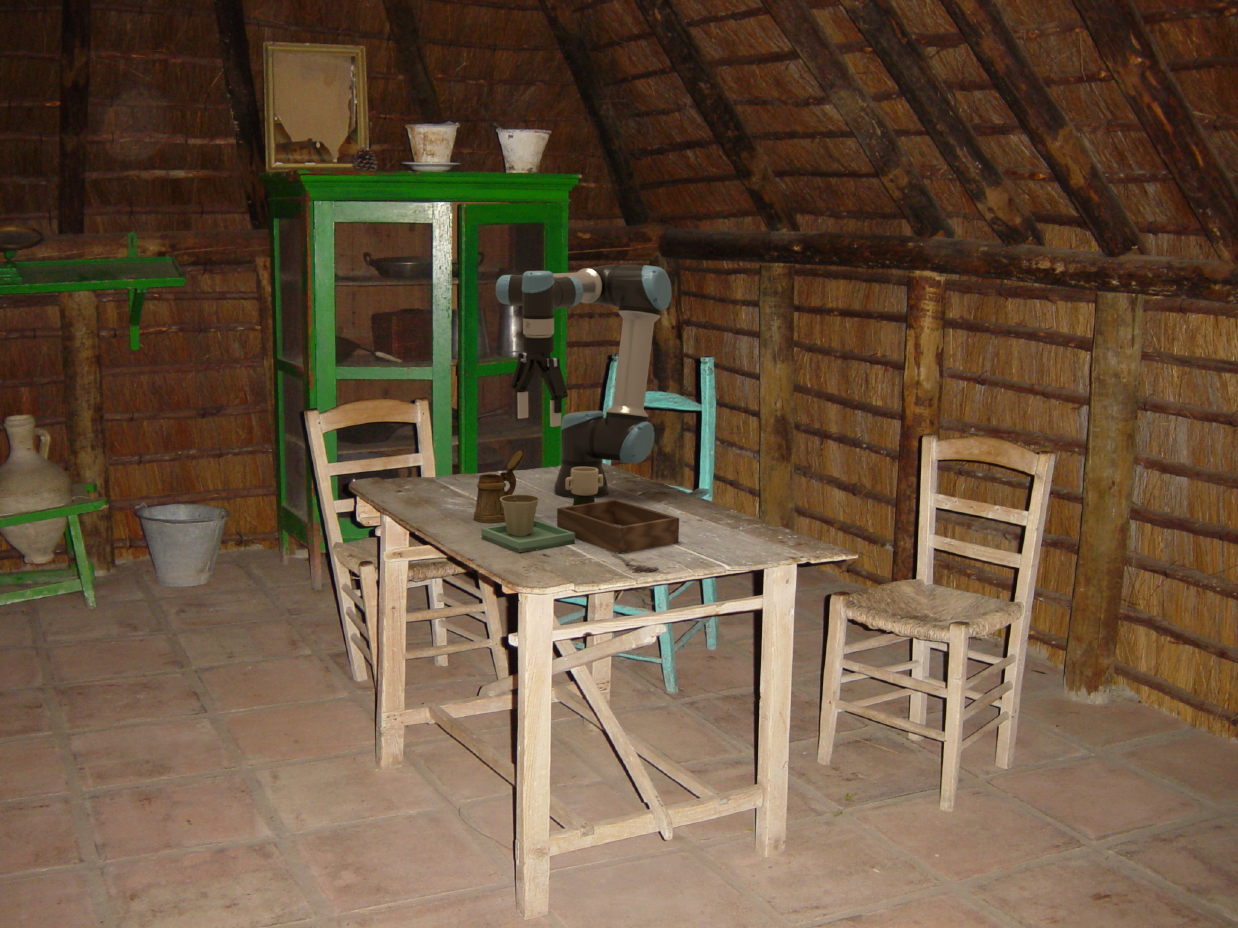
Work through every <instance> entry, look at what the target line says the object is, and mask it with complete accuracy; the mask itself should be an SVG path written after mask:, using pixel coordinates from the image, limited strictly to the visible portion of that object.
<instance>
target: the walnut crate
mask: <svg viewBox="0 0 1238 928" xmlns="http://www.w3.org/2000/svg"><path fill="white" fill-rule="evenodd" d="M556 517H557V518H556V527H559V528H562V529H565V530H568V531H571V532H574V533H575V540H578V541H579V540H580V541H582V542H585V543H588V544H590V545H593V546H596V547H598V546H599V547H598V548H601V549H604V548H605V549H604V550H607V549H609V550H608V551H611V552H613V551H614V552H613V553H616V552H618V553H620V554H623V553H622V552H625V553H629V552H628V551H630V552H634V551H640V550H639V549H641V550H645V548H646V549H650V548H656V547H655V546H657V547H661V545H662V546H666V545H672V544H671V543H673V544H676V543H679V540H680V539H679V537H680V517H678V516H674V515H669V514H667V513H663V512H661V511H656V510H653V509H651V508H647V507H643V506H641V505H640V506H639V505H636V504H633V503H630V502H626V501H623V500H619V499H609V500H602V501H596V502H595V503H588V504H582V505H575V506H573V505H571V506H570V505H569V506H564V507H557V509H556ZM618 553H617V554H618Z"/></svg>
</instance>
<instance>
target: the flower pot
mask: <svg viewBox="0 0 1238 928" xmlns="http://www.w3.org/2000/svg"><path fill="white" fill-rule="evenodd" d="M500 501H501V502H502V506H503V508H504V515H505V521H504V523H505V525H506V529H507V534H509V535H510V534H512V535H513V536H526V535H528V534H532V533H533V526H534V520H535V518H536V509H537V507H538V503H539V501H540V497H538V496H536V495H533V494H512V495H508V496H503V497H501V498H500Z"/></svg>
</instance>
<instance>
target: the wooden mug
mask: <svg viewBox="0 0 1238 928" xmlns="http://www.w3.org/2000/svg"><path fill="white" fill-rule="evenodd" d="M525 455H526V449H525V447H524V448H521V449H519V450H517V451H516V452H515V453H514V454H513V455H512V456H511V458H510V460H509V461H508V463H507V467H506V470H505V471H502V472H500V474H495V473H485V474H481V475H479V479H478V482H477V484H476V485H477V486H476V487H477V488H478V489H477V497H476V505H475V511H474V512H473V520H475V521H477V522H480V523H491V524H492V523H501V522H505V515H504V508H503V506H502V502H501V501H500V498H501V497H503V496H508V495H514V492H515V490H516V486H517V477H516V475H515V473H514V471H515V470H517V468H518V467H519V466H520V464H521V463H522V461H523V460H524V457H525ZM506 482H507V483H509V487H508V489H507V490H506V489H505V488H506V486H507V483H506Z"/></svg>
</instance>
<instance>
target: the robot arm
mask: <svg viewBox="0 0 1238 928" xmlns="http://www.w3.org/2000/svg"><path fill="white" fill-rule="evenodd" d="M495 296H496V298H497V299H496V300H498V302H500V303H501V304H503V305H509V306H522V334H523V335H524V336H523V337H522V351H523V352H519V353H518V355H517V364H516V366H515V370H514V374H513V378H512V381H511V384H510V388H512V389H514V390H515V392H516V403H517V419H518V420H519V419H528V418H529V391H528V387H529V385H530V383H531V381H532V380H533V378H534V376H535V374H536V375H538V376H540V378H542V380H543V381H544V383H545V385H546V388H547V390H548V392H549V394H550V396H551V398H550V399H549V421H550V422H549V424H550V425H549V427H552V428H553V427H559V426H560V427H561V428H560V431H561V435H560V437H561V438H560V439H561V444H560V445H561V451H560V452H561V453H560V457H561V458H560V461H561V462H560V468H559V471H558V474H557V477H556V481H555V483H554V493H555V494H556V495H557V496H560V497H561V496H562V497H567V498H573V499H574V498H575V496H576V494H573V493H572V492H571V490H566V487H565V482H566V478H567V477H571V469H572V468H574V467H594V468H597V469H598V474H602V475H603V486H601V487H598V491H597V494H594V495H592V496H593V497H594V498H598V497H603V496H605V495H608V493H609V485H608V481H607V477H606V475H605V472H604V467H603V460H605V461H611V462H612V461H613V462H620V463H623V464H629V463H630V464H639V463H642V462H643V461H644V460H646V459H647V457H648V456H649V455H650V453H651V451H652V449H653V446H654V443H655V431H654V430H655V428H654V426H653V424H652V423H650V422H649V415H648V413H647V412H646V411H645V409H644V408H645V403H646V402H645V401H646V392H647V385H648V376H649V369H650V368H649V367H650V360H651V350H652V344H653V343H652V342H653V335H654V328H655V327H654V326H655V323H656V322H657V321H658V320H659V319H660V318H661V314H662V311H664V310H666V309H667V308H669V306H670V303H671V300H672V283H671V280H670V278H669V275H668V273H667V272H666V271H665V269H664V268H662V267H659V266H655V265H654V266H653V265H648V264H644V265H642V264H641V265H639V264H607V265H600V266H593V267H589V268H588V267H587V268H585V267H584V268H581V269H579V270H578V271H577V272H561V273H559V272H558V273H554V272H552V271H549V270H527V271H524V273H523V274H522V275H521V274H505V275H504V274H503V275H501V276H500V277H499V278H498V279H497V281H496V284H495ZM580 303H583V304H597V305H603V306H608V307H616V308H618V314H619V316H620V317H621V318H622V323H621V324H622V326H621V335H620V342H619V348H618V349H619V352H618V357H617V358H618V360H617V368H616V373H615V374H616V375H615V384H614V392H613V399H612V400H613V401H612V406H611V407H609V408H608V409H607V410H606V411H605V412H606V413H605V415H604V412H603V411H602V410H584V411H576V412H569V413H566V414H564V415H563V417H562V411H563V406H562V405H563V403H562V402H563V399H565V398H568V397H569V393H568V391H567V387H566V383H565V380H564V376H563V373H562V370H561V365H560V361H561V360H560V358H559V357H551V353H553V352H554V351H555V338H554V337H553V335H554V334H555V318H554V311H555V309H557V310H558V309H566V308H567V309H569V308H571V307H576V306H577V305H579V304H580ZM598 483H599V478H598ZM569 486H570V481H569Z"/></svg>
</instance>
